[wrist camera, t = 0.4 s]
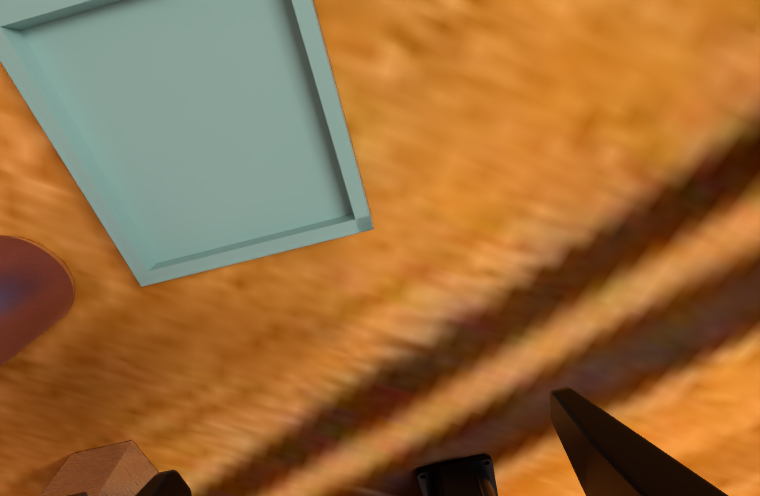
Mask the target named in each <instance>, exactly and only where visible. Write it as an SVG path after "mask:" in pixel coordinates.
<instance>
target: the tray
mask: <svg viewBox="0 0 760 496" xmlns="http://www.w3.org/2000/svg"><path fill="white" fill-rule="evenodd" d="M0 61H1V63H2V65H3V66H4V68H5V69H6V71H7V73H8V74H9V76H10V77H11V79H12V81H13V82H14V84H15V85H16V87H17V89H18V90H19V92H20V93H21V95H22V97H23V98H24V100H25V101H26V103H27V105H28V106H29V108H30V109H31V111H32V113H33V114H34V116H35V117H36V119H37V121H38V122H39V124H40V125H41V127H42V129H43V130H44V132H45V133H46V135H47V137H48V138H49V140H50V141H51V143H52V145H53V146H54V148H55V149H56V151H57V153H58V154H59V156H60V157H61V159H62V161H63V162H64V164H65V165H66V167H67V169H68V170H69V172H70V173H71V175H72V177H73V178H74V180H75V181H76V183H77V185H78V186H79V188H80V189H81V191H82V193H83V194H84V196H85V197H86V199H87V201H88V202H89V204H90V205H91V207H92V209H93V210H94V212H95V213H96V215H97V217H98V218H99V220H100V221H101V223H102V225H103V226H104V228H105V229H106V231H107V233H108V234H109V236H110V237H111V239H112V241H113V242H114V244H115V245H116V247H117V249H118V250H119V252H120V253H121V255H122V257H123V258H124V260H125V261H126V263H127V265H128V266H129V268H130V269H131V271H132V273H133V274H134V276H135V277H136V279H137V281H138V282H139V284H140V285H141V287H143V286H147V285H151V284H155V283H159V282H163V281H167V280H171V279H175V278H179V277H183V276H187V275H191V274H195V273H199V272H203V271H207V270H211V269H215V268H219V267H223V266H227V265H231V264H235V263H239V262H243V261H247V260H251V259H255V258H259V257H263V256H268V255H272V254H276V253H280V252H284V251H288V250H292V249H296V248H300V247H304V246H308V245H312V244H316V243H320V242H324V241H328V240H332V239H336V238H340V237H344V236H348V235H352V234H356V233H360V232H364V231H368V230H372V229H373V221H372V216H371V212H370V209H369V205H368V201H367V198H366V194H365V190H364V186H363V183H362V179H361V175H360V172H359V168H358V164H357V160H356V157H355V153H354V149H353V146H352V142H351V138H350V134H349V131H348V127H347V123H346V120H345V116H344V112H343V108H342V105H341V101H340V97H339V93H338V90H337V86H336V82H335V79H334V75H333V71H332V67H331V64H330V60H329V56H328V53H327V49H326V45H325V41H324V38H323V34H322V30H321V27H320V23H319V19H318V15H317V12H316V8H315V4H314V1H313V0H0Z"/></svg>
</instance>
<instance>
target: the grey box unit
mask: <svg viewBox="0 0 760 496" xmlns="http://www.w3.org/2000/svg"><path fill="white" fill-rule="evenodd" d="M156 474H158V471H157V470H156V469H155V468H154V467H153V465H152V464H151V463H150V462H149V460H148V459H147V458H146V457H145V456H144V454H143V453H142V452H141V451H140V449H139V448H138V447H137V446H136V445H135V443H134V442H133V441H132V440H131V441H127V442H123V443H118V444H114V445H109V446H105V447H101V448H96V449H92V450H87V451H83V452H79V453H74V454H71V456H70V457H69V458H68V459H67V461H66V462H65V463H64V465H63V466H62V467H61V469H60V470H59V471H58V472H57V474H56V475H55V476H54V478H53V479H52V480H51V482H50V483H49V484H48V485H47V487H46V488H45V489H44V491H43V492H42V493H41V495H40V496H135V495H136V494H137V493H138V492H139V491H140V490H141V489H142V488H143V487H144V486H145V485H146V484H147V483H148V482H149V480H150V479H151V478H152V477H153V476H155V475H156Z"/></svg>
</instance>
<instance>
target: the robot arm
mask: <svg viewBox="0 0 760 496" xmlns="http://www.w3.org/2000/svg"><path fill="white" fill-rule="evenodd" d="M550 414H551V419H552V422H553V425H554V427H555V430H556V432H557V434H558V436H559V438H560V440H561V443H562V445H563V447H564V449H565V451H566V453H567V456H568V458H569V460H570V462H571V464H572V467H573V469H574V471H575V473H576V475H577V477H578V480H579V482H580V484H581V486H582V488H583V490H584V492H585V494H586V496H728V495H727V494H725V493H724V492H722V491H721V490H719V489H718V488H716V487H715V486H713V485H712V484H710V483H709V482H708V481H706V480H705V479H703V478H702V477H700V476H699V475H697V474H696V473H694V472H693V471H691V470H690V469H688V468H687V467H686V466H684V465H683V464H681V463H680V462H678V461H677V460H675V459H674V458H672V457H671V456H669V455H668V454H667V453H665V452H664V451H662V450H661V449H659V448H658V447H656V446H655V445H653V444H652V443H650V442H649V441H647V440H646V439H645V438H643V437H642V436H640V435H639V434H637V433H636V432H634V431H633V430H631V429H630V428H628V427H627V426H626V425H624V424H623V423H621V422H620V421H618V420H617V419H615V418H614V417H612V416H611V415H609V414H608V413H606V412H605V411H604V410H602V409H601V408H599V407H598V406H596V405H595V404H593V403H592V402H590V401H589V400H587V399H586V398H585V397H583V396H582V395H580V394H579V393H577V392H576V391H574V390H573V389H571V388H569V387H563V388H558V389H554V390H551V392H550ZM417 479H418V482H419V485H420V488H421V491H422V494H423V496H498V493H497V487H496V481H495V475H494V469H493V463H492V459H491V457H490V456H489V455H482V456H477V457H472V458H468V459H463V460H458V461H454V462H449V463H444V464H440V465H435V466H430V467H426V468H421V469H419V470H417ZM135 496H192V495H191V490H190V488H189V486H188V485H187V484H186V482H185V481H184V480H183V478H182V477H181V476H180V474H179V473H178V472H177V471H176V470H169V471H164V472H160V473H158V474H156V475H155V476H153V477H152V478H151V479H150V480H149V482H148V483H147V484H146V485H145V486H144V487H143V488H142V489H141V490H140V491H139V492H138V493H137V494H136V495H135Z"/></svg>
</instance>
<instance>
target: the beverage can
mask: <svg viewBox="0 0 760 496" xmlns="http://www.w3.org/2000/svg"><path fill="white" fill-rule="evenodd" d="M73 298H74V281H73V278H72V276H71V274H70V272H69V270H68V268H67V267H66V265H65V264H64V263H63V262H62V261H61V260H60V259H59V258H58V257H57V256H56V255H55V254H54V253H52V252H51V251H50V250H48V249H46V248H45V247H43V246H41V245H39V244H37V243H35V242H32V241H30V240H26V239H23V238H18V237H12V236H2V235H0V367H1V366H2V365H3V364H4V363H6V362H7V361H8V360H9V359H11V358H12V357H13V356H14V355H16V354H17V353H18V352H19V351H21V350H22V349H23V348H25V347H26V346H27V345H28V344H30V343H31V342H32V341H33V340H35V339H36V338H37V337H38V336H40V335H41V334H42V333H43V332H45V331H46V330H47V329H48V328H50V327H51V326H52V325H53V324H55V323H56V322H57V321H58V320H60V319H61V318H62V317H63V316H65V315H66V314H67V312H68V311H69V310H70V308H71V306H72V303H73Z"/></svg>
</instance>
